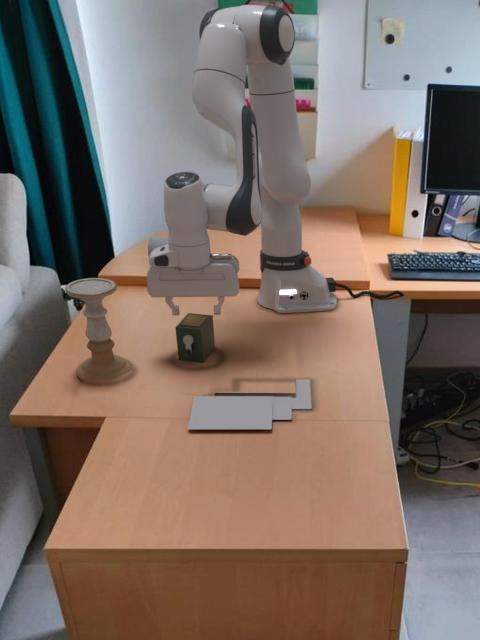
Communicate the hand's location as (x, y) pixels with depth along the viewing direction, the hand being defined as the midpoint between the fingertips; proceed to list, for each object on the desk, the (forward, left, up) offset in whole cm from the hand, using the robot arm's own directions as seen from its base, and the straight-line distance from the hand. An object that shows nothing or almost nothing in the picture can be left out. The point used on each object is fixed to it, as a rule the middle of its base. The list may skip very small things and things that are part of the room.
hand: (196, 314), depth 165 cm
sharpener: (+1, +1, -10) cm, 10 cm away
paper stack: (-13, +23, -11) cm, 29 cm away
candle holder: (+21, +8, -11) cm, 25 cm away
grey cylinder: (+18, -72, -11) cm, 75 cm away
